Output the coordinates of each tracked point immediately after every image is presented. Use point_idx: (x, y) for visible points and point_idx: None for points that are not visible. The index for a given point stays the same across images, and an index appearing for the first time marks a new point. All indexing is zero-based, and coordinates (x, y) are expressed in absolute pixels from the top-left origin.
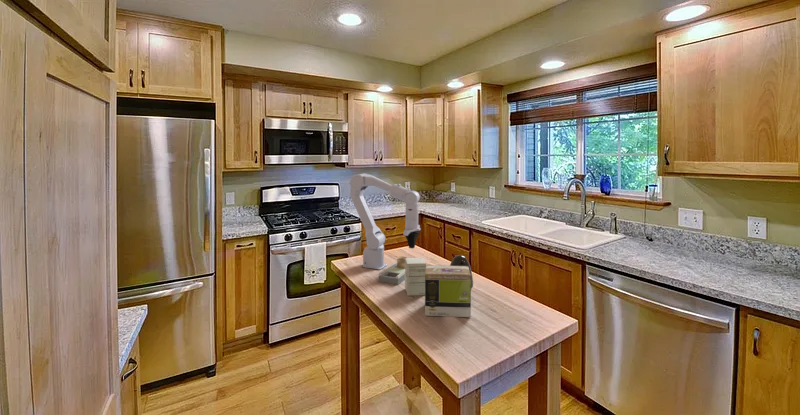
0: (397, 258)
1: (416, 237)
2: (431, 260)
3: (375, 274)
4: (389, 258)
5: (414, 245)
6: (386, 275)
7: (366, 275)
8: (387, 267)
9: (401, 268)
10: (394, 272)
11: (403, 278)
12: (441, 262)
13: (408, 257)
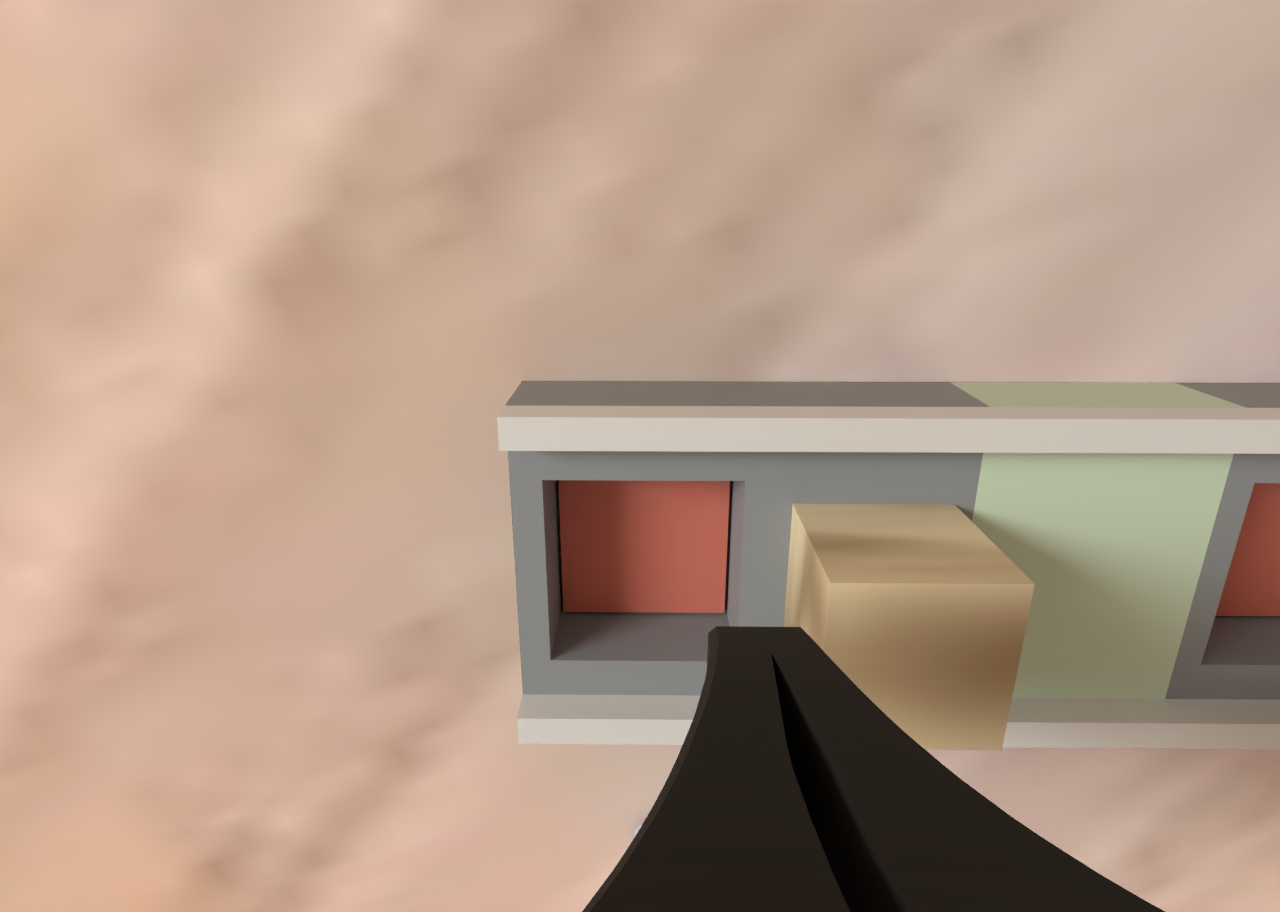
0: (991, 747)
1: (764, 870)
2: (48, 328)
3: (1052, 802)
4: (355, 901)
5: (774, 659)
6: (1263, 648)
7: (1117, 870)
8: (1112, 747)
9: None
10: (1204, 583)
11: (1252, 390)
12: (31, 101)
13: (849, 587)
